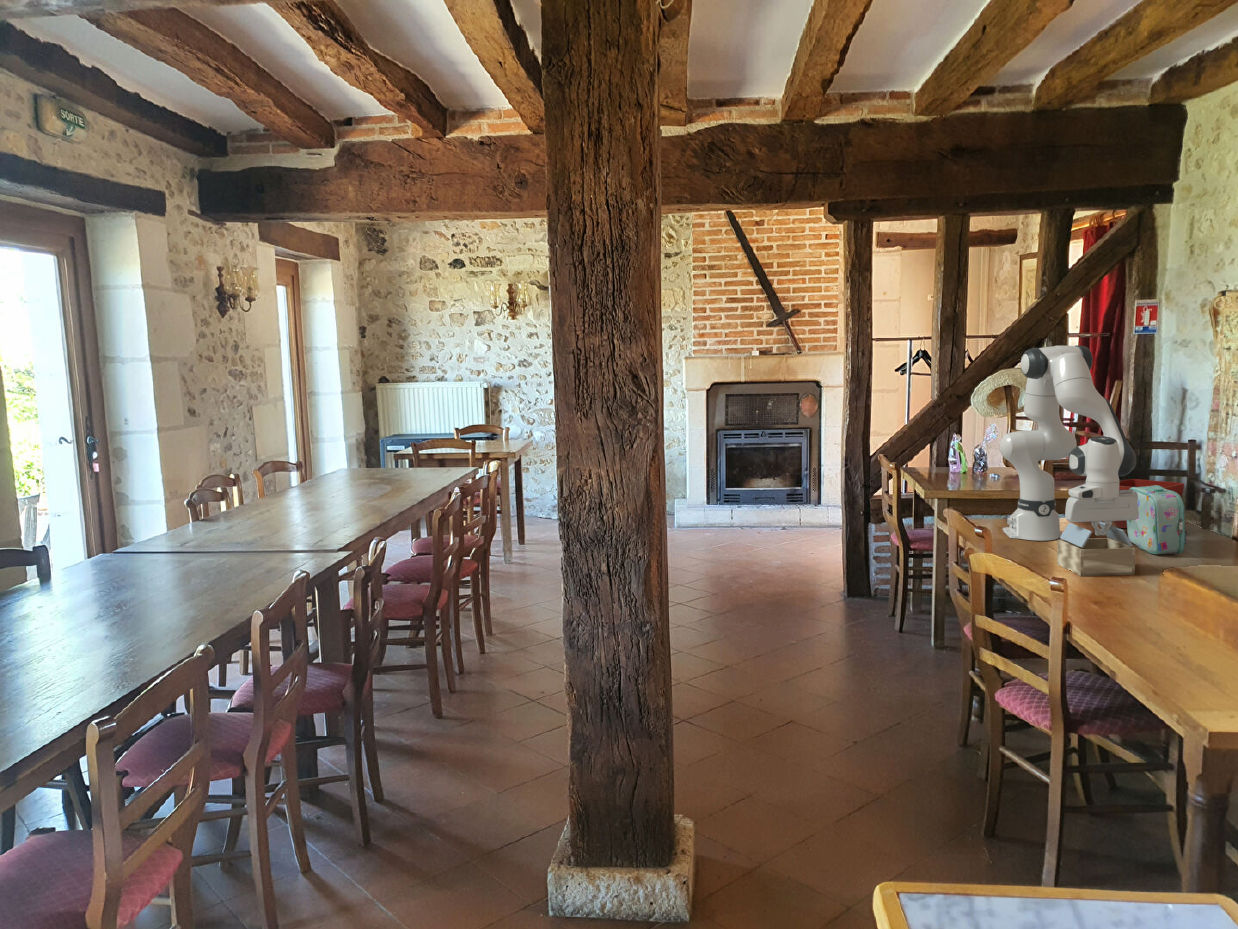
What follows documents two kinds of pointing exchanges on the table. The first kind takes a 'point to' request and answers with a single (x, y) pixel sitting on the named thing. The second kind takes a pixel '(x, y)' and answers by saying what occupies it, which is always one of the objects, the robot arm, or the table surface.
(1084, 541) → the flap
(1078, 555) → the crate
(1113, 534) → the flap
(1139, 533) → the lunch box
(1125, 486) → the plant pot
